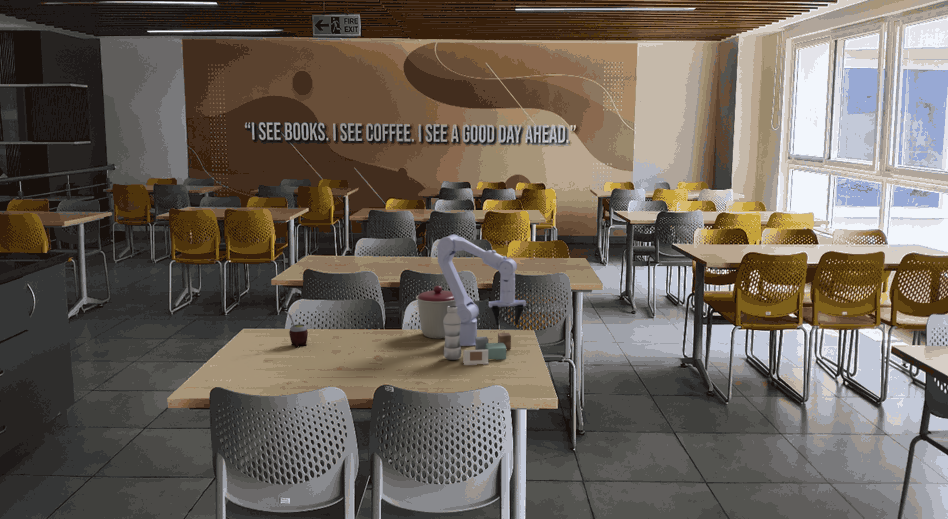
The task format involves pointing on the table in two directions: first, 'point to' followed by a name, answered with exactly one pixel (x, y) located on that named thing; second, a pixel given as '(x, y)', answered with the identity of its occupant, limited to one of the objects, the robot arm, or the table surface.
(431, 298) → the canister
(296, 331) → the mate gourd
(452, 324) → the plastic bottle
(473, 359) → the card
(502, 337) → the walnut block
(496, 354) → the base block
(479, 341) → the grey block
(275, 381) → the table surface
